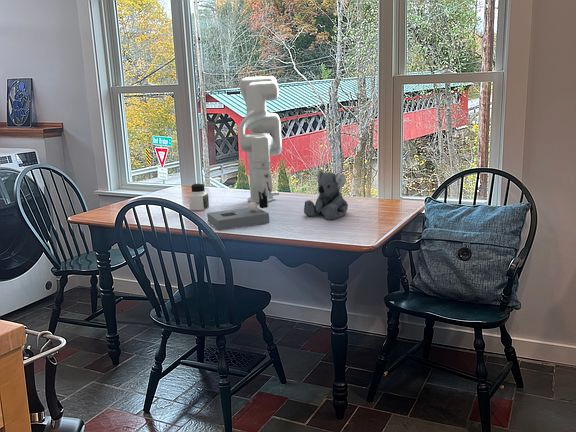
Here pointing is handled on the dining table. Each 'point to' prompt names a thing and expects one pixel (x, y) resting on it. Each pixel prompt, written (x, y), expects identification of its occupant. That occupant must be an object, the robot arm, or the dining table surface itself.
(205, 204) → the medicine bottle
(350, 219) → the dining table surface
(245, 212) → the grey flat block
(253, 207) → the ball
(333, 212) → the koala plush
